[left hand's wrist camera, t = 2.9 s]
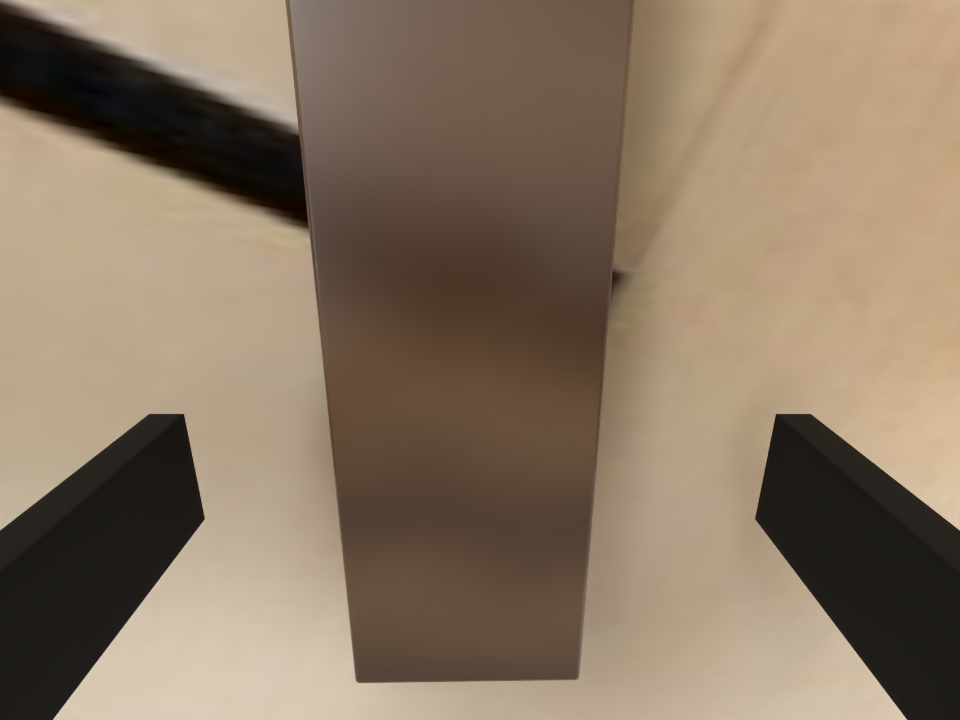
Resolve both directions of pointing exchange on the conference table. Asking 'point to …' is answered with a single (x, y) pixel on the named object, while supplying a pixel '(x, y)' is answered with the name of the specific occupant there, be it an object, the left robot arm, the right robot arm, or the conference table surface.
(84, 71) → the conference table surface
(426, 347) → the beam
